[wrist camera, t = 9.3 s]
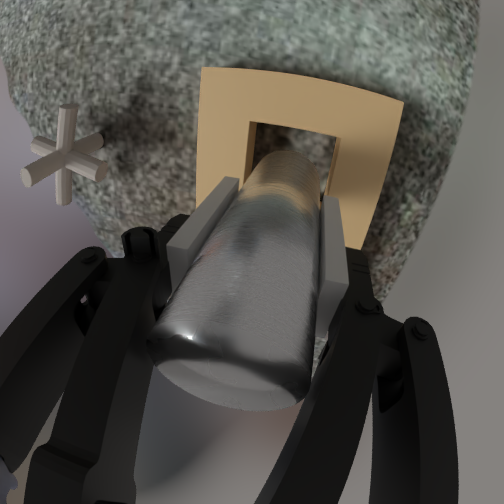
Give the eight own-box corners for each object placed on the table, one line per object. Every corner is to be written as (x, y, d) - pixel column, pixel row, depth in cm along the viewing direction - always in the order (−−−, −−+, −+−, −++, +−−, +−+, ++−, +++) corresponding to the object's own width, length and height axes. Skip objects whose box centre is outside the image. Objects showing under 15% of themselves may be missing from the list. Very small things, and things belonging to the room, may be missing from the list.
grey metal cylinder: (257, 144, 17) (130, 298, 6) (325, 157, 16) (335, 349, 5) (250, 204, 19) (160, 386, 8) (312, 216, 19) (288, 420, 8)
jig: (216, 68, 18) (190, 66, 14) (392, 99, 16) (413, 104, 12) (207, 290, 32) (192, 321, 28) (323, 316, 31) (321, 350, 27)
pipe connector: (143, 107, 21) (63, 134, 13) (126, 195, 27) (64, 247, 19) (74, 89, 20) (-1, 112, 12) (66, 167, 26) (5, 206, 18)
